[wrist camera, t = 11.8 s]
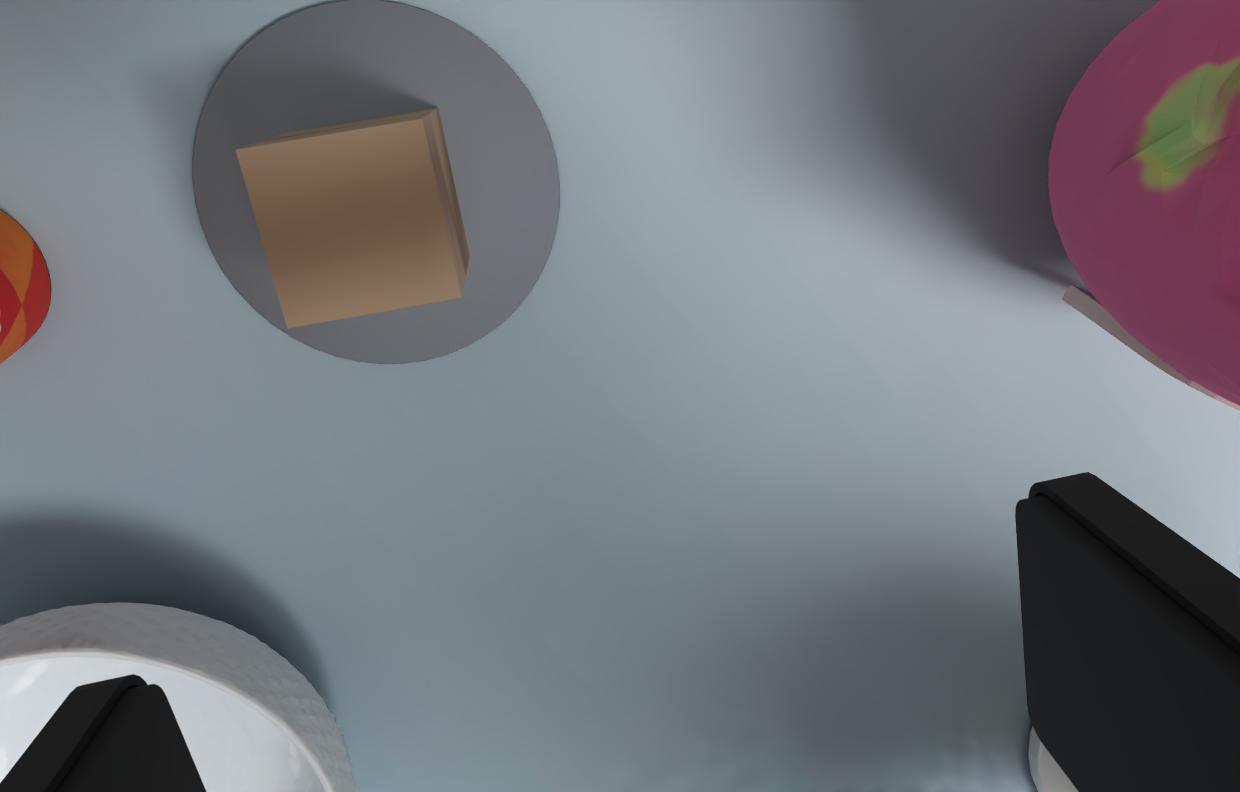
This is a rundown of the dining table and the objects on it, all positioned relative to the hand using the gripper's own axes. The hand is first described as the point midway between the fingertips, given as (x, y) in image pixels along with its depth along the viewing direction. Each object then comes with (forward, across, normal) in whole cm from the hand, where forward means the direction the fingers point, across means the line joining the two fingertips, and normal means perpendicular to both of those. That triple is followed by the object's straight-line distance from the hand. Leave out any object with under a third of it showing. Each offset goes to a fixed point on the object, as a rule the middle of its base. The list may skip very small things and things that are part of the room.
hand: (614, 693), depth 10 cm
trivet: (+24, +6, -4) cm, 25 cm away
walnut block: (+24, +6, -4) cm, 25 cm away
